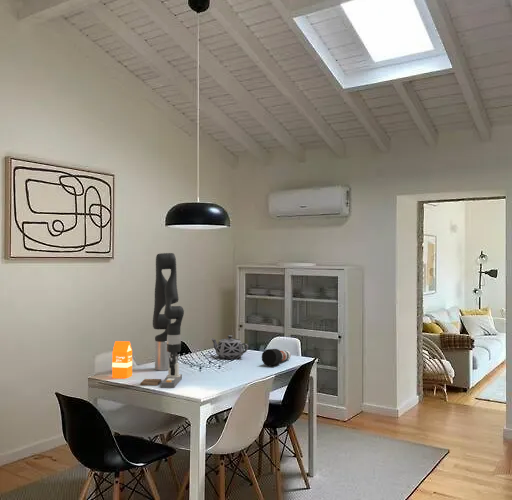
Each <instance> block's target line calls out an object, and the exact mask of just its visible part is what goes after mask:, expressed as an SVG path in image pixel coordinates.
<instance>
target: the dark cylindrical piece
mask: <svg viewBox="0 0 512 500" xmlns="http://www.w3.org/2000/svg"><path fill="white" fill-rule="evenodd" d="M291 356H292V355H291V352H290V351H288V350H280V349H278V348H270V349H265V350H264V351H262V353H261V362H262V363H263V364H264V365H266V366H269V367H270V366H277V365H279V364H281V362H284V361H287V360H288V361H289V360H290V359H291Z"/></svg>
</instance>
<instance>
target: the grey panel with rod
mask: <svg viewBox="0 0 512 500" xmlns="http://www.w3.org/2000/svg"><path fill="white" fill-rule="evenodd" d="M182 378H183V374H182V373H179V376H168V374H167V375H166V377H164V379H163V380H161V382H160V388H163V389H164V388H167V389H175V388H176V386H177V385H178V384H179V383H180V382H181V381H182V380H183V379H182Z"/></svg>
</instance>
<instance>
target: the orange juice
mask: <svg viewBox="0 0 512 500" xmlns="http://www.w3.org/2000/svg"><path fill="white" fill-rule="evenodd" d="M111 357H112V358H111V359H112V362H111V364H112V365H111V371H112V373H111V378H112V379H126V378H127V379H129V378H130V377H132V376H133V348H132V344H131V341H124V340H123V341H121V340H116V341H114V345H113V349H112V355H111Z"/></svg>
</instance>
